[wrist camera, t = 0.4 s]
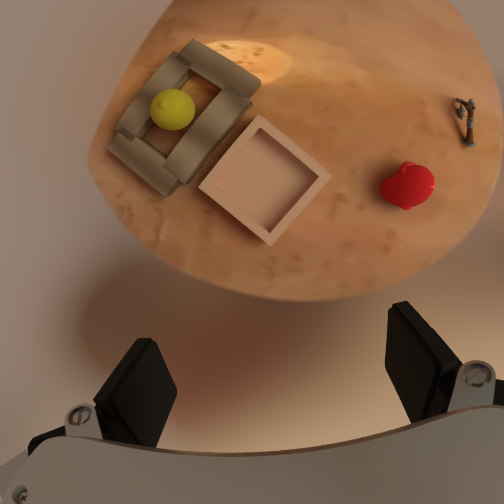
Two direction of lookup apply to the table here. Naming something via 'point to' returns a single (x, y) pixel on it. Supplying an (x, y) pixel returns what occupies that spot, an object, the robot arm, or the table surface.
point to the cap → (408, 186)
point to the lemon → (172, 109)
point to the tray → (265, 180)
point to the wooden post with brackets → (470, 121)
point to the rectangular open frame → (203, 129)
